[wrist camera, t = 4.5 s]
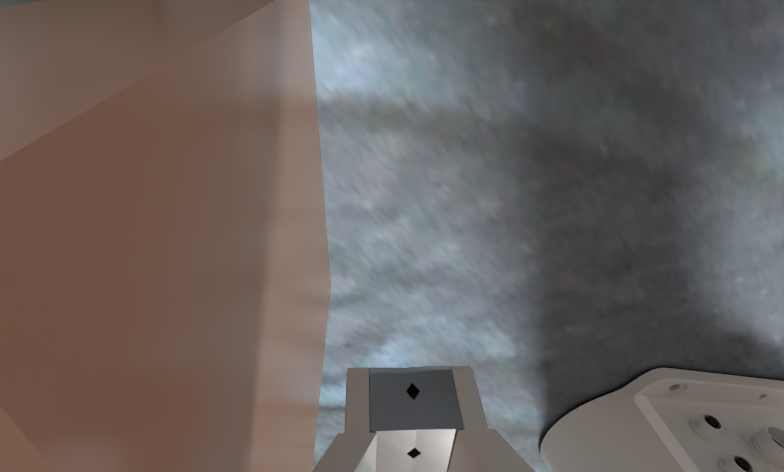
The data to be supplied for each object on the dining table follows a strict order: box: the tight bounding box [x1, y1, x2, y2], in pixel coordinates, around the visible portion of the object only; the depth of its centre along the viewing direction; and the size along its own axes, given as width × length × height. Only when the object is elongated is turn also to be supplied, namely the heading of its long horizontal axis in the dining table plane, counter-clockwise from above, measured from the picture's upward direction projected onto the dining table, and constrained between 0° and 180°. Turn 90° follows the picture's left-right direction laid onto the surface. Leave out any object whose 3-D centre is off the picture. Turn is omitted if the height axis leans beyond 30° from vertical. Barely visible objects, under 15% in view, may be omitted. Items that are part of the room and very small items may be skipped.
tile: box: [0, 0, 331, 472], centre depth 14 cm, size 5×16×18 cm, turn 179°
